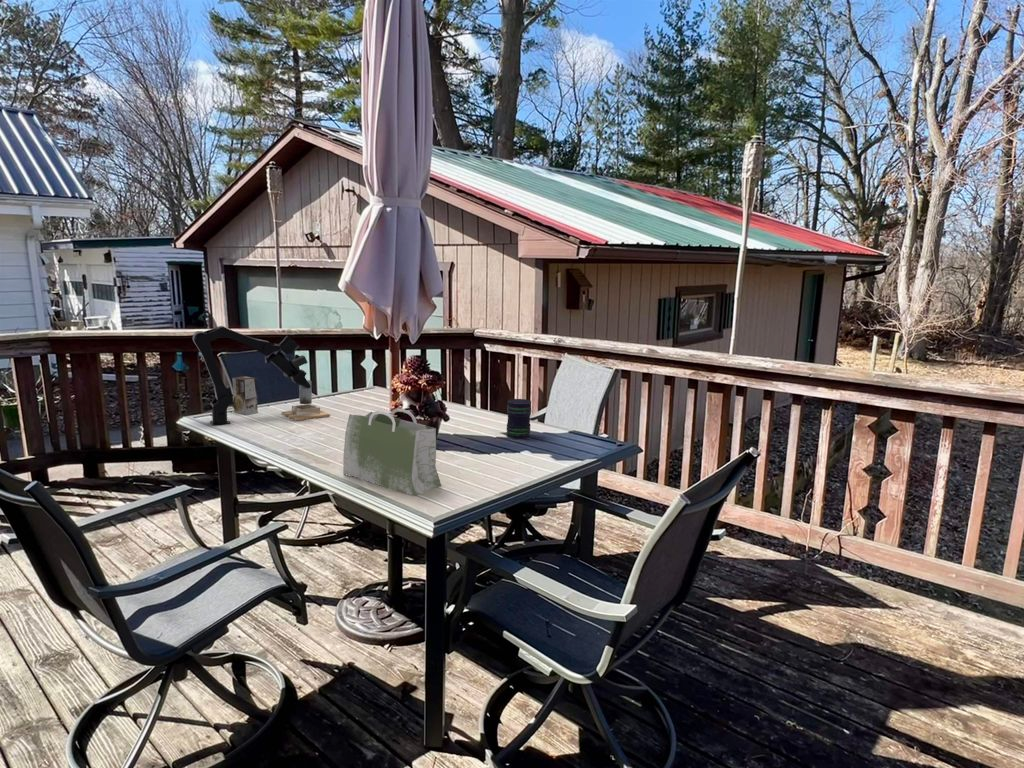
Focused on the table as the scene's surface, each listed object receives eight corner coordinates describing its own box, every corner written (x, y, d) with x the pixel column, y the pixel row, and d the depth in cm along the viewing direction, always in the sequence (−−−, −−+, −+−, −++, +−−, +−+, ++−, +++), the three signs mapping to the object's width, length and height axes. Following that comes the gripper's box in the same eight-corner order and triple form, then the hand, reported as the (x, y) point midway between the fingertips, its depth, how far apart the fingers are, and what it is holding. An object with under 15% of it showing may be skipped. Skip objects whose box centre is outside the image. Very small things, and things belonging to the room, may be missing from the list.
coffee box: (258, 412, 286) (257, 377, 284) (245, 415, 281) (244, 379, 278) (246, 410, 291) (244, 375, 288) (233, 412, 286) (231, 377, 283)
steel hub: (297, 403, 281) (296, 381, 280) (304, 401, 286) (303, 379, 285) (307, 404, 280) (306, 382, 278) (314, 402, 285) (313, 380, 283)
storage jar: (502, 437, 258) (503, 401, 256) (512, 432, 267) (513, 397, 264) (524, 440, 254) (525, 404, 251) (533, 435, 263) (535, 400, 260)
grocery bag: (444, 484, 198) (445, 413, 194) (414, 496, 187) (414, 420, 183) (372, 465, 216) (372, 399, 212) (340, 475, 204) (339, 405, 200)
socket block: (282, 414, 286) (281, 405, 285) (316, 410, 296) (316, 401, 295) (295, 421, 273) (294, 412, 273) (330, 416, 283) (330, 408, 283)
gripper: (301, 352, 269) (327, 376, 277) (290, 347, 285) (315, 370, 292) (282, 371, 266) (309, 395, 274) (272, 365, 282) (298, 387, 290)
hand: (308, 386), depth 283 cm, fingers closed on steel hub, 5 cm apart
